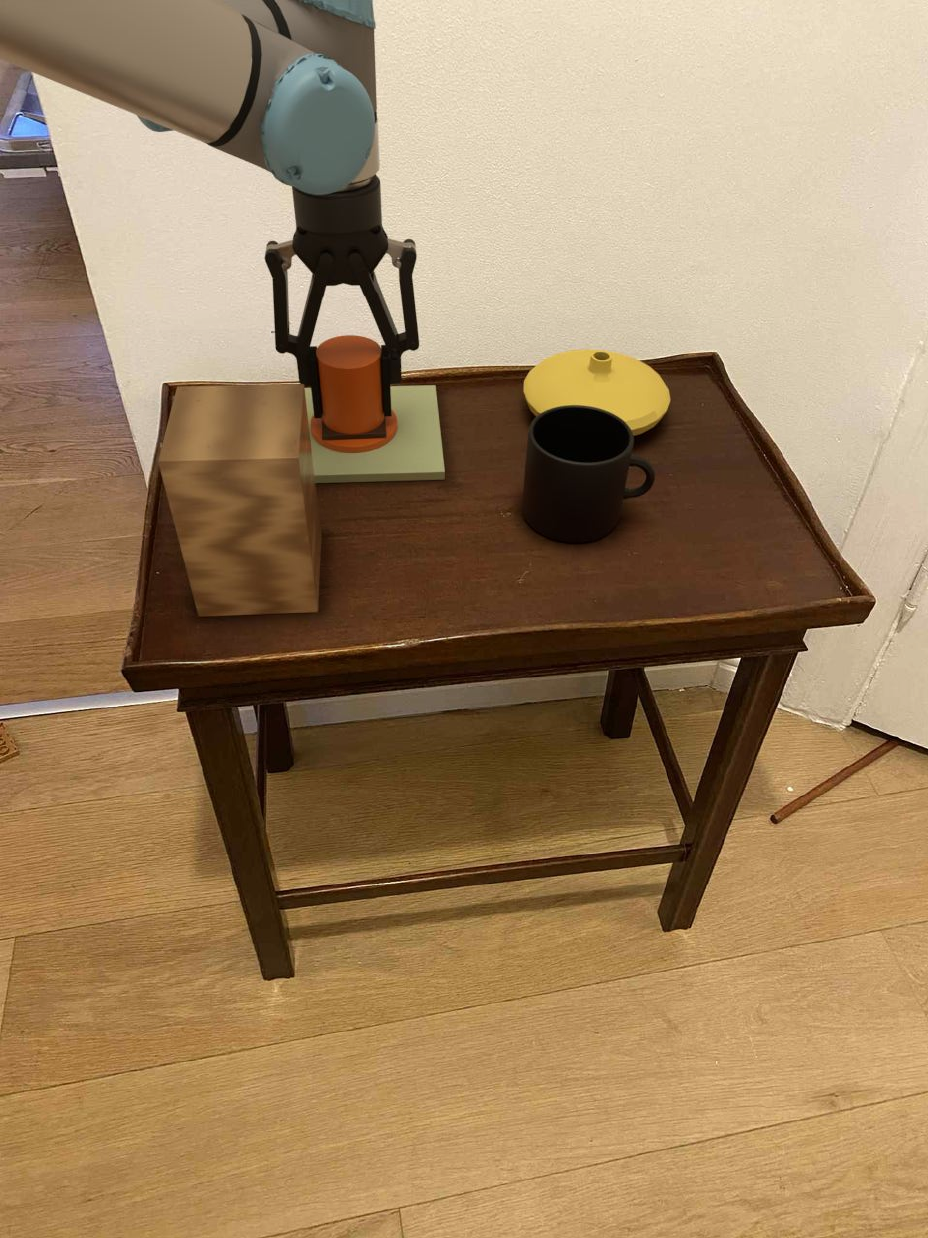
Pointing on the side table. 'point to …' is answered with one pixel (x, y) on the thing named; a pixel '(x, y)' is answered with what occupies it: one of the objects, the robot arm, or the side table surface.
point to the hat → (351, 396)
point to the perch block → (244, 498)
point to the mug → (579, 472)
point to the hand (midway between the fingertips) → (353, 409)
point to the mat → (390, 444)
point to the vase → (599, 386)
